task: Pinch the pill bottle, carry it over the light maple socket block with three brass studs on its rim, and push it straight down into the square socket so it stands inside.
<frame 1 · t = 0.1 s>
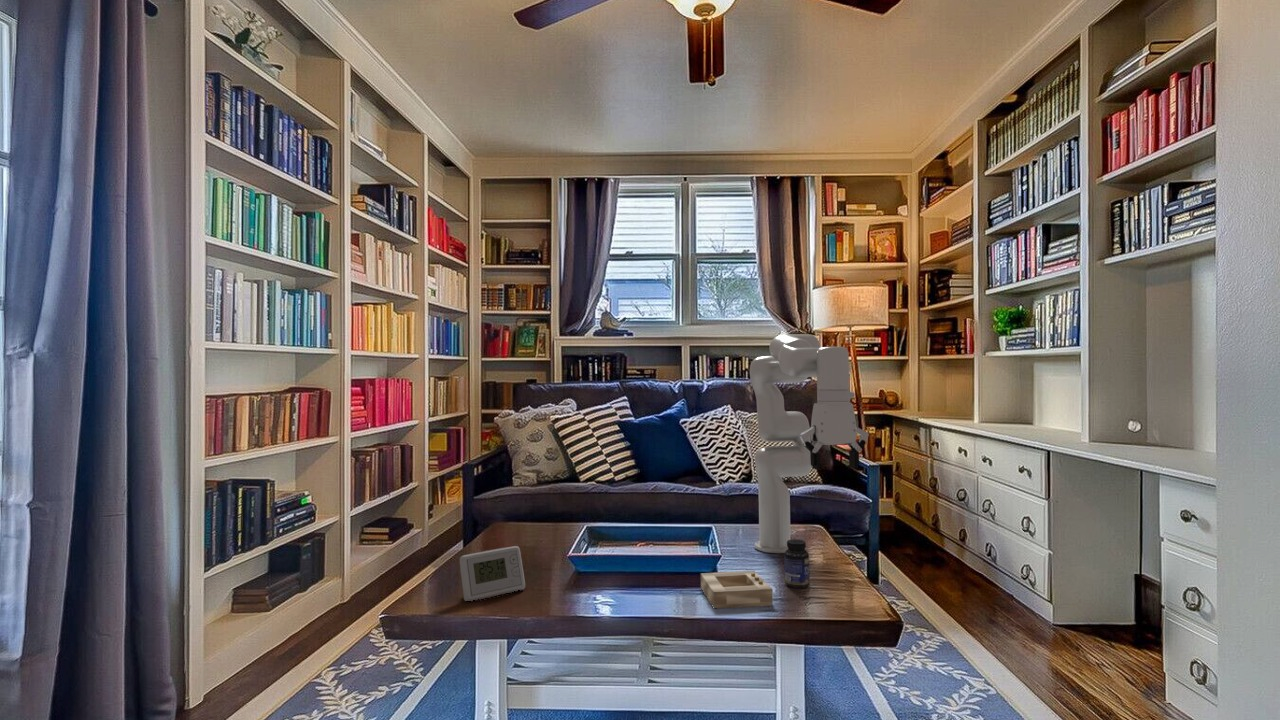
hand: (835, 468, 150), 31 cm above the table, tool pointing down, fingers open, 9 cm apart
digital clock: (492, 595, 155), on the table
socket block: (735, 596, 151), on the table
pill bottle: (797, 585, 159), on the table
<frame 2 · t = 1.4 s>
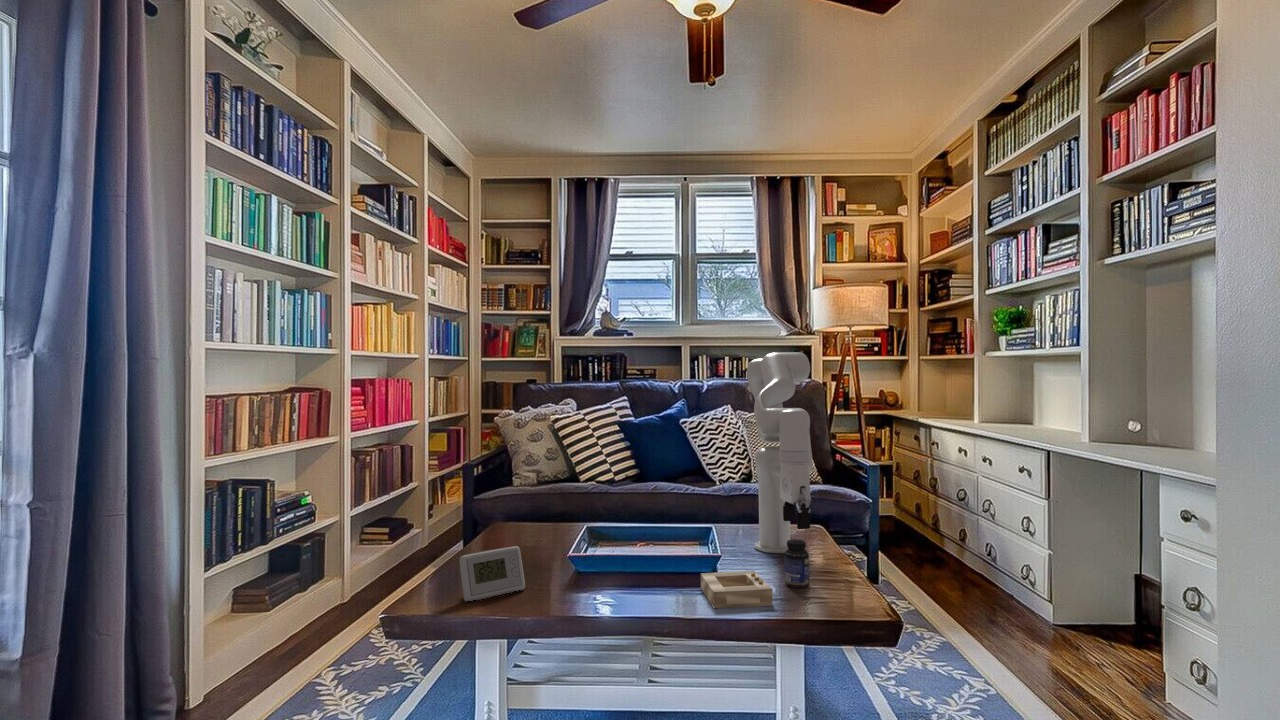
hand: (796, 524, 159), 15 cm above the table, tool pointing down, fingers open, 9 cm apart
nothing on the table moved.
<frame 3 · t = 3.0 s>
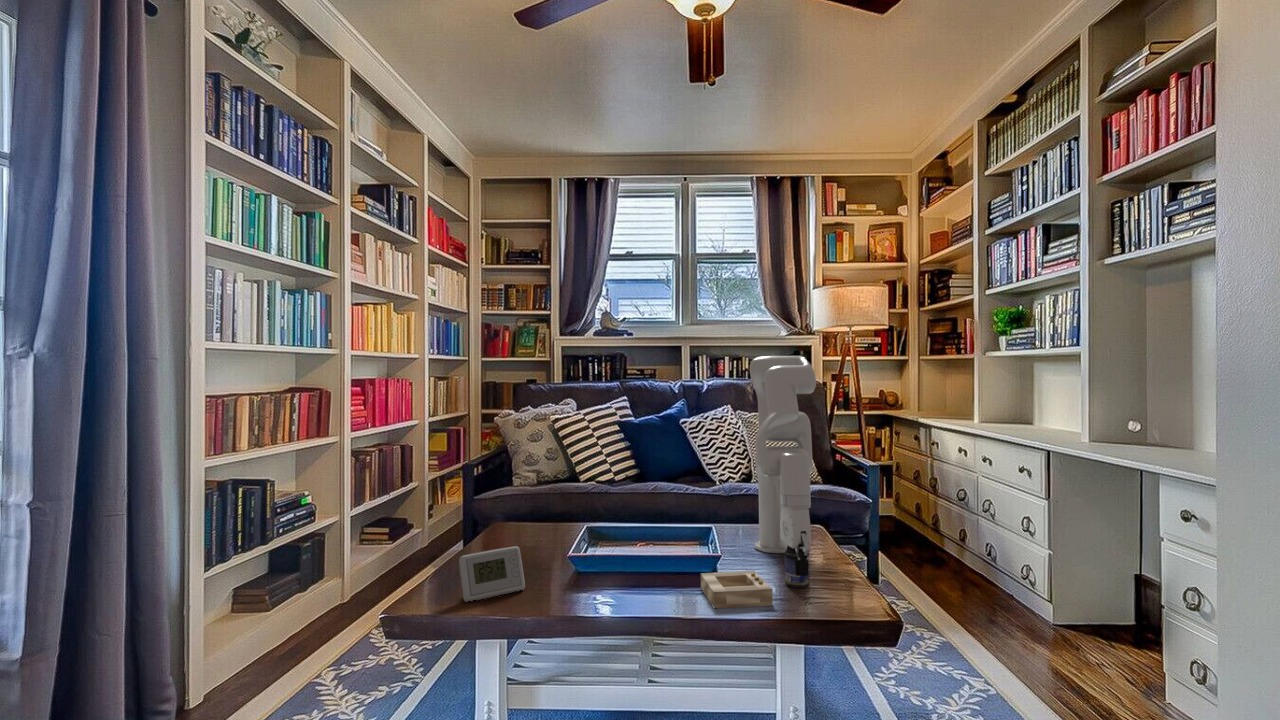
hand: (796, 570, 160), 4 cm above the table, tool pointing down, fingers closed on pill bottle, 6 cm apart
pill bottle: (797, 585, 159), on the table, touching gripper
everything else where it was.
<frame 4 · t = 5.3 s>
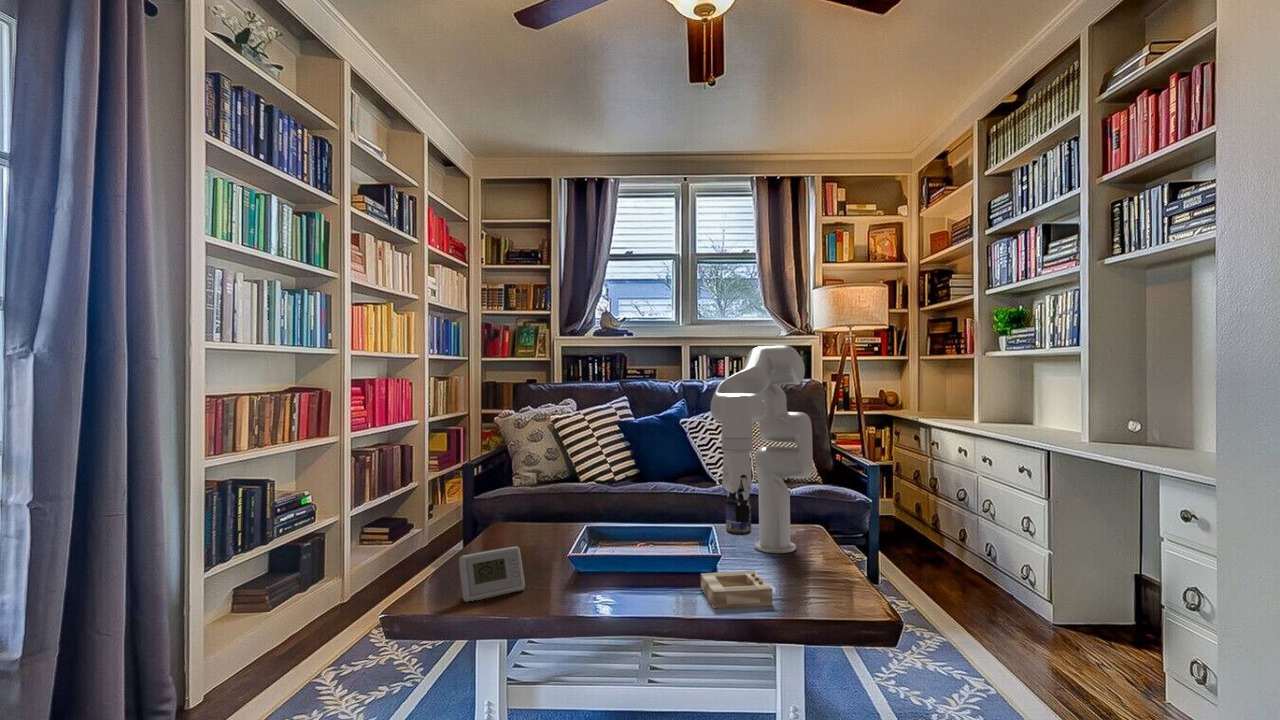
hand: (738, 518, 152), 19 cm above the table, tool pointing down, fingers closed on pill bottle, 6 cm apart
pill bottle: (738, 533, 152), point 15 cm above the table, touching gripper
everything else where it was.
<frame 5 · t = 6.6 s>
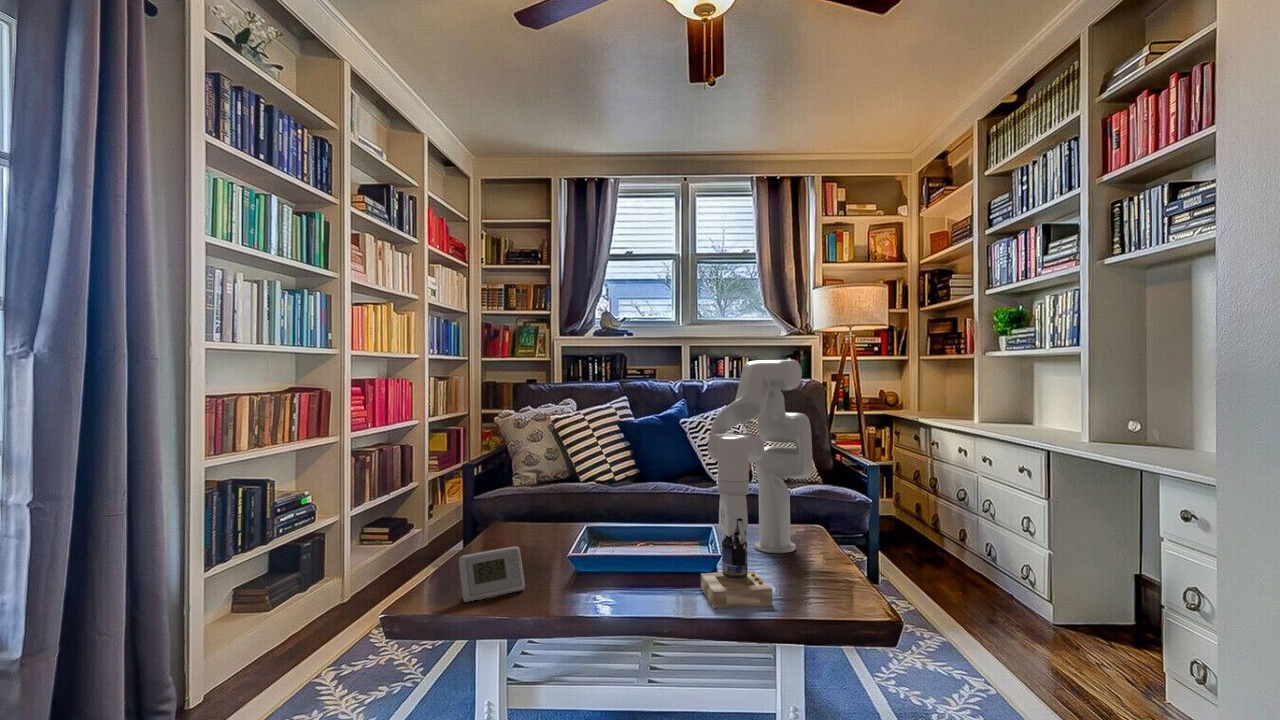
hand: (734, 560, 152), 9 cm above the table, tool pointing down, fingers closed on pill bottle, 6 cm apart
pill bottle: (735, 576, 151), point 5 cm above the table, touching gripper
everything else where it was.
when the fingers open (6 cm above the table, at t = 7.6 s): pill bottle drops 1 cm, resting on socket block.
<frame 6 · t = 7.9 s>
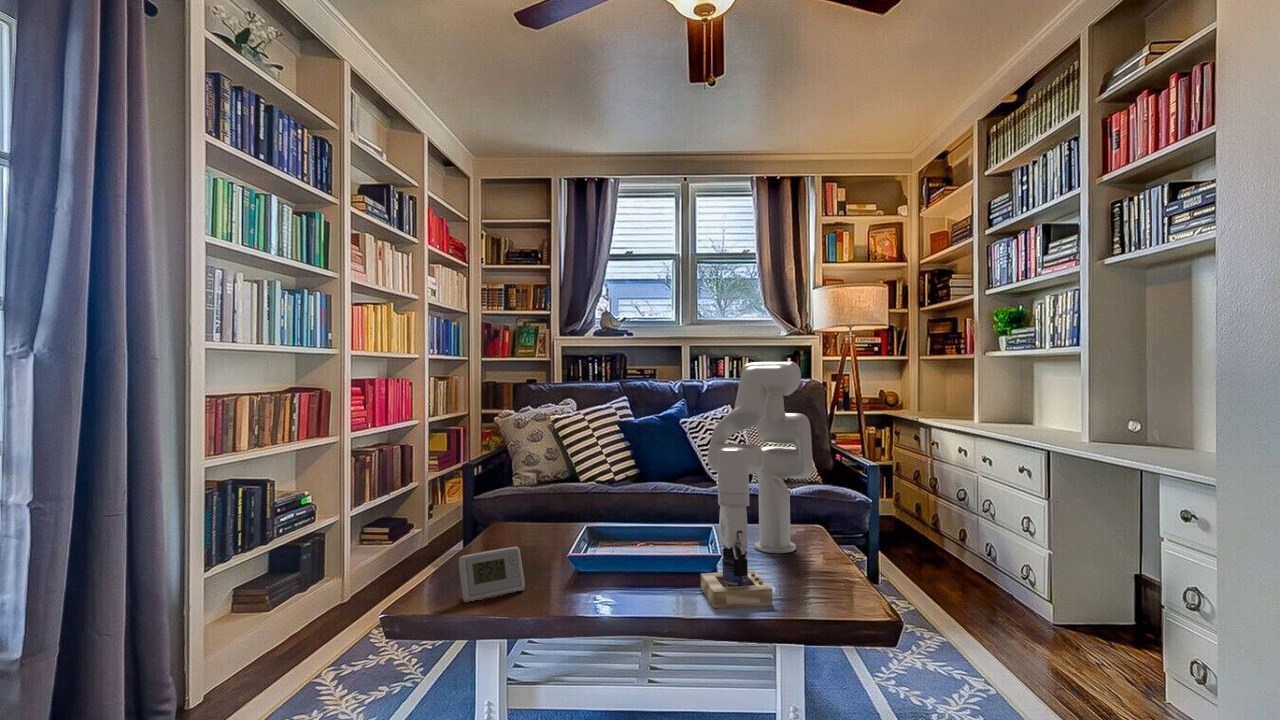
hand: (734, 569, 151), 6 cm above the table, tool pointing down, fingers open, 9 cm apart
pill bottle: (735, 593, 151), point 1 cm above the table, touching socket block
everything else where it was.
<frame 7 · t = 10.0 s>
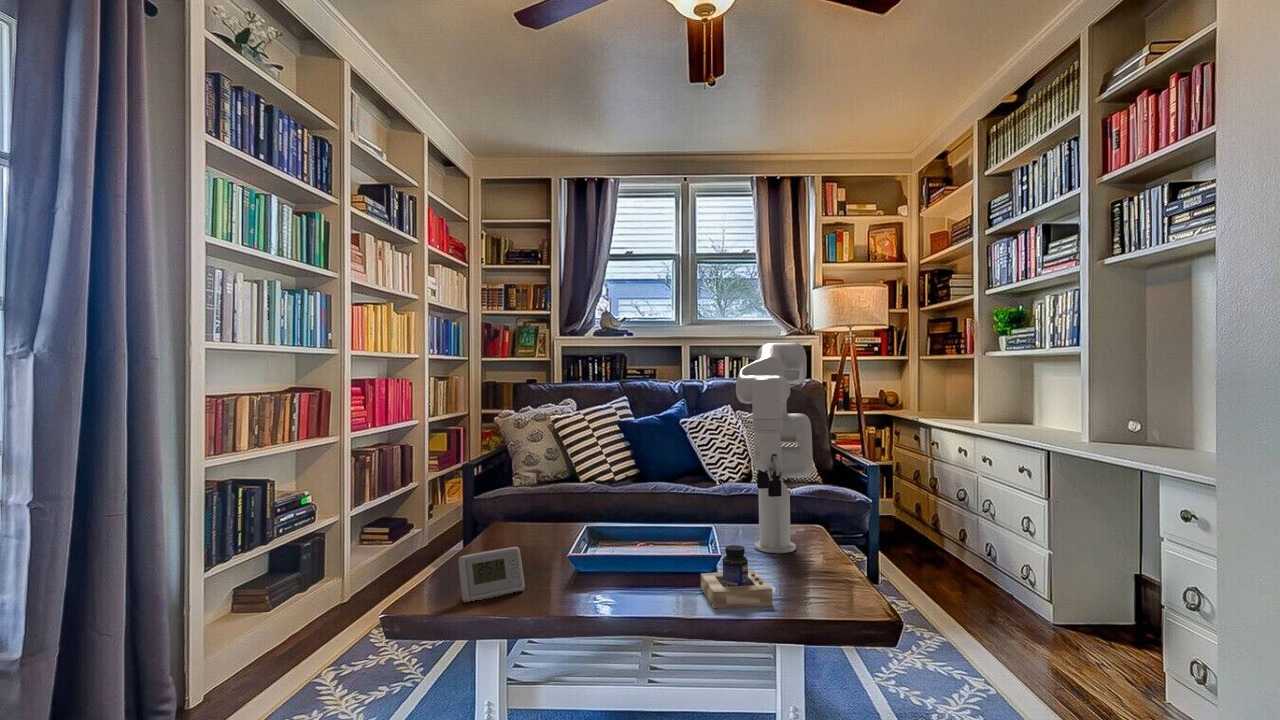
hand: (768, 492, 159), 24 cm above the table, tool pointing down, fingers open, 9 cm apart
nothing on the table moved.
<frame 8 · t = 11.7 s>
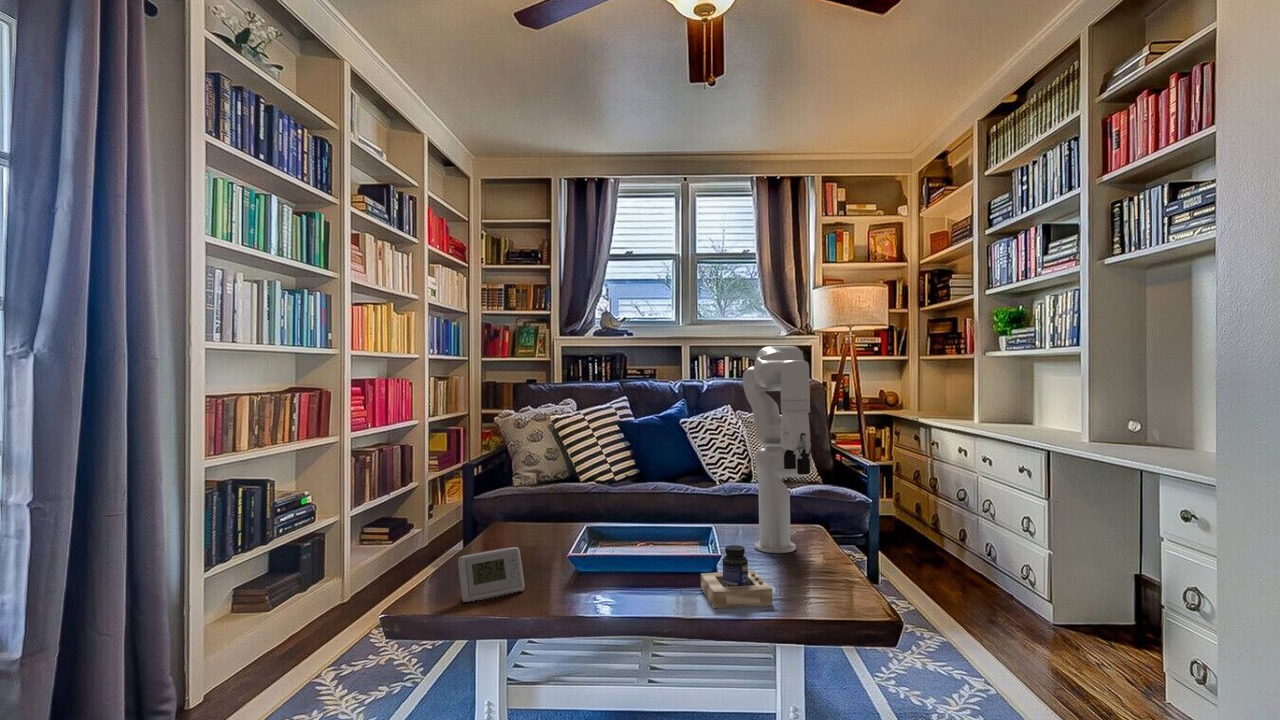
hand: (796, 471, 165), 28 cm above the table, tool pointing down, fingers open, 9 cm apart
nothing on the table moved.
at the end: pill bottle 0.1 cm off-centre on the socket block, point 0.6 cm above the socket block's base; pill bottle tilted 0°; the gripper is holding nothing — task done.
